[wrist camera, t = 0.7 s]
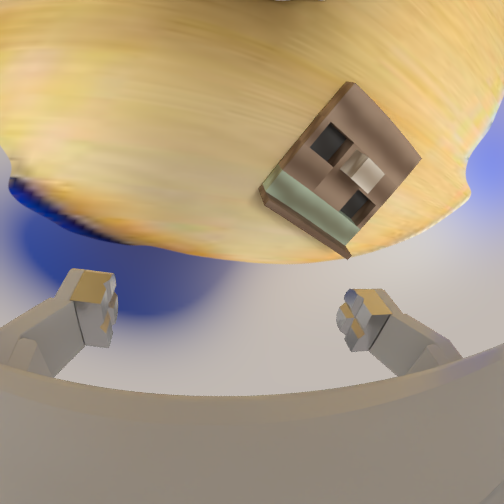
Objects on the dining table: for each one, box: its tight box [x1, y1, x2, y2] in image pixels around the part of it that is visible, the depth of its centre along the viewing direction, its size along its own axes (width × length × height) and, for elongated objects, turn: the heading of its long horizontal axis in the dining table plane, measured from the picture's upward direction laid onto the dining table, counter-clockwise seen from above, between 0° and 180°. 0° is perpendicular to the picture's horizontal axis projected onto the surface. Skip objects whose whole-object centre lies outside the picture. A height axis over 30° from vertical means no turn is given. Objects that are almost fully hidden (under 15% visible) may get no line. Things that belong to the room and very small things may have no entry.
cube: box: [340, 149, 385, 194], centre depth 39 cm, size 4×4×4 cm
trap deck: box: [259, 82, 422, 259], centre depth 41 cm, size 22×18×6 cm
